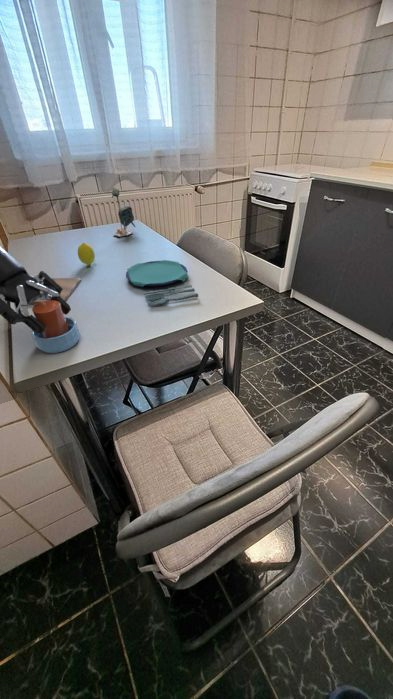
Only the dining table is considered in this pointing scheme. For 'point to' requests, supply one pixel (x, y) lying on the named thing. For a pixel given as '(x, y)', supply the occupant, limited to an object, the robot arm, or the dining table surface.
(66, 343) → the bowl
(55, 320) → the terracotta cylindrical canister
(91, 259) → the lemon
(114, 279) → the dining table surface
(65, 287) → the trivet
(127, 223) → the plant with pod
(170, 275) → the cutlery set
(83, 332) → the dining table surface
